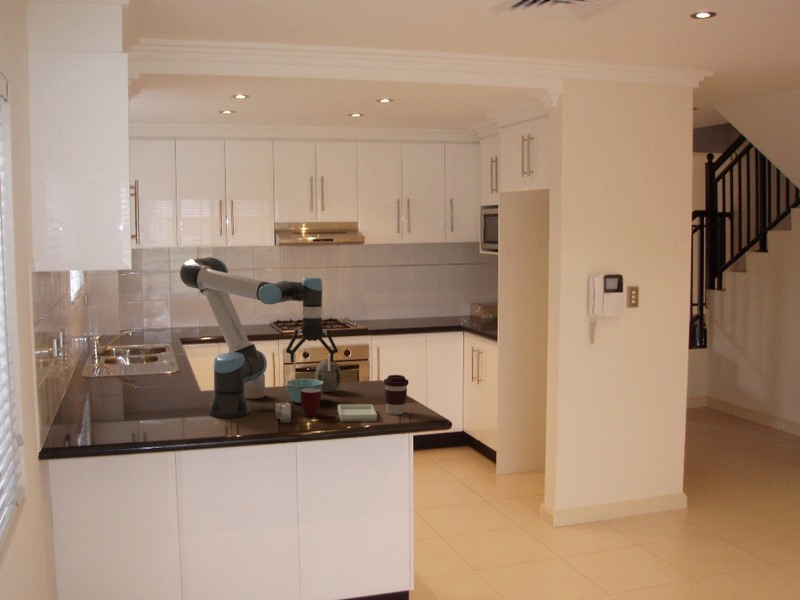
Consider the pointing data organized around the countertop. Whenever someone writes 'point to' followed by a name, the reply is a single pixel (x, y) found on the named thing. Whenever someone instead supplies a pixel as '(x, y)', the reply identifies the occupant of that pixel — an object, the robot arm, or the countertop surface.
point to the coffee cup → (395, 394)
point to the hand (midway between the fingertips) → (311, 370)
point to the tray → (357, 412)
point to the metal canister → (285, 413)
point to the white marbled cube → (277, 409)
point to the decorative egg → (328, 375)
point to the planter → (255, 388)
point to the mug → (310, 401)
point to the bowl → (301, 387)
